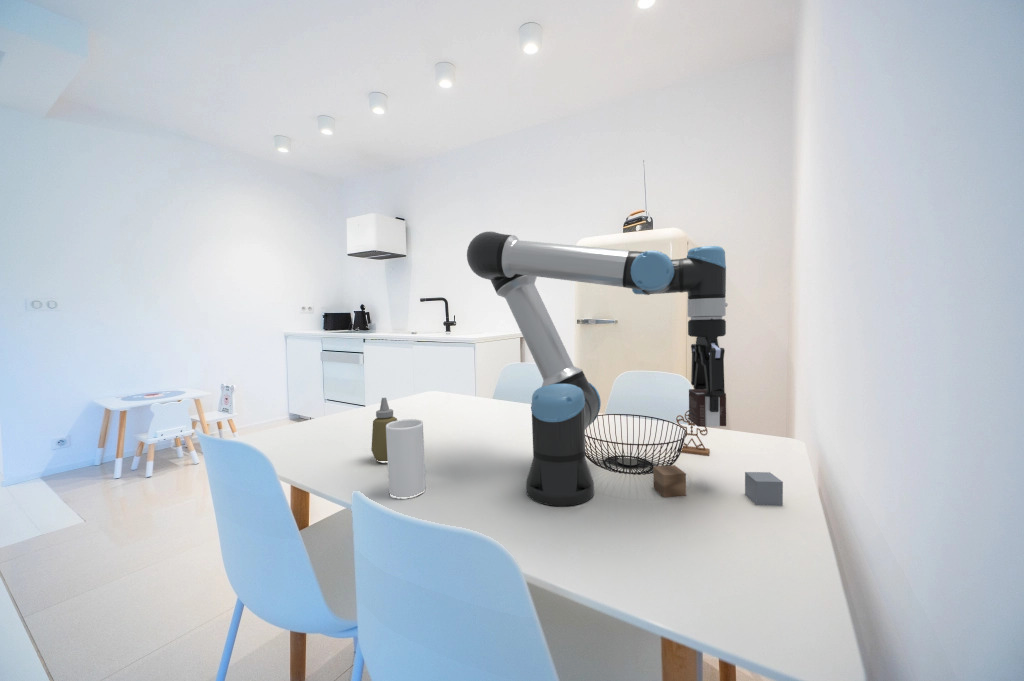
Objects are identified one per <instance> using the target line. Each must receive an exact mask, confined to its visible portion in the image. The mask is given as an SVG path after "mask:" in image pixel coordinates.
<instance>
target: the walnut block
mask: <svg viewBox="0 0 1024 681" xmlns="http://www.w3.org/2000/svg"><path fill="white" fill-rule="evenodd" d="M652 467H653V468H652V469H653V470H652V474H653V476H652V478H653V480H652V481H653V489H654V490H655V491H656V492H657V493H658V494H659V495H660V496H661V497H663V498H676V497H686V496H687V473H686V472H685V471H683V470H682V469H680V468H679V467H678V466H676V465H675V464H672V465H671V464H670V465H659V466H657V465H656V466H652Z"/></svg>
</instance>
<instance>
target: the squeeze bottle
mask: <svg viewBox="0 0 1024 681" xmlns="http://www.w3.org/2000/svg"><path fill="white" fill-rule="evenodd" d="M375 416H376V418H375V419H373V420H372V430H371V431H372V433H371V434H372V435H371V452H372V455H373V457H374V460H375V459H376V460H378V461H388V459H387V439H386V425H387V424H388V423H390V422H393V421H398V419H397V417H395V416H394V410H393V409H392V408H390V406H389V403H388V400H387V397H381V401H380V406H379V409H378V410H376V412H375ZM376 460H375V461H376Z"/></svg>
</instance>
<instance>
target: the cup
mask: <svg viewBox="0 0 1024 681" xmlns="http://www.w3.org/2000/svg"><path fill="white" fill-rule="evenodd" d="M424 436H425V435H424V423H423V421H422V420H420V419H413V418H411V419H409V418H408V419H406V418H405V419H400V420H399V419H397V421H393V422H390V423H388V424H387V425H386V439H387V459H388V463H387V473H388V474H387V476H388V477H387V478H388V494H389V493H390V494H391V495H393V496H396V497H410V496H414V495H417V494H419V493H421V492H423V491H424V490H425V488H426V489H427V485H426V484H427V482H426V464H425V462H426V460H425V441H424V440H425V439H424Z"/></svg>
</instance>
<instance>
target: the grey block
mask: <svg viewBox="0 0 1024 681" xmlns="http://www.w3.org/2000/svg"><path fill="white" fill-rule="evenodd" d="M783 483H784V481H782V480H781V479H780V478H778V477H777V476H776V475H774V474H773V473H771V471H768V472H767V471H766V472H765V471H760V472H759V471H745V472H744V495H745V497H747V498H748V499H749V500H750V501H751V502H752V503H753V504H755V505H756V506H771V507H774V506H775V507H777V506H778V507H781V506H784V505H783V504H784V503H783V502H784V501H783V500H784V496H783V495H784V492H783V491H784V486H783V485H784V484H783Z"/></svg>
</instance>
